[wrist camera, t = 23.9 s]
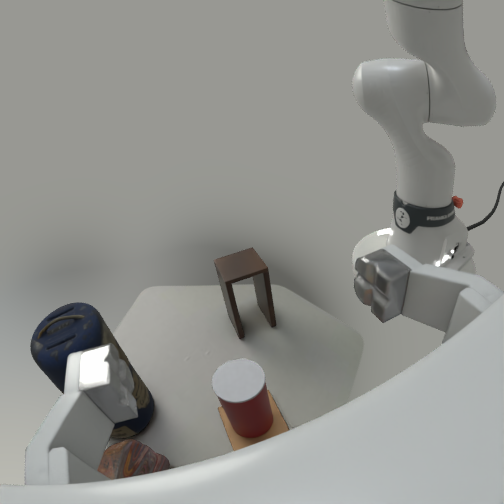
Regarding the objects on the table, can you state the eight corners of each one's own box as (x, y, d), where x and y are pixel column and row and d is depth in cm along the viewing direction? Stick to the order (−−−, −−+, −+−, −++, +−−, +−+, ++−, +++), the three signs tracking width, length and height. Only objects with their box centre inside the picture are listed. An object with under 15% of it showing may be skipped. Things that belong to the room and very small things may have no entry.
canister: (161, 436, 32) (87, 344, 23) (97, 446, 31) (11, 360, 21) (154, 380, 40) (99, 282, 31) (98, 391, 39) (33, 301, 29)
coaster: (268, 391, 37) (268, 389, 36) (290, 433, 31) (290, 431, 31) (218, 409, 35) (217, 407, 35) (235, 453, 30) (234, 452, 29)
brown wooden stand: (262, 303, 52) (252, 247, 46) (276, 325, 47) (268, 267, 41) (228, 315, 50) (213, 259, 44) (239, 339, 45) (224, 282, 40)
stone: (148, 553, 18) (96, 542, 13) (88, 523, 20) (33, 499, 15) (180, 466, 28) (144, 432, 23) (122, 447, 31) (81, 408, 25)
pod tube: (264, 396, 35) (253, 351, 31) (281, 428, 31) (273, 389, 26) (225, 411, 34) (205, 369, 29) (239, 445, 30) (220, 409, 25)
